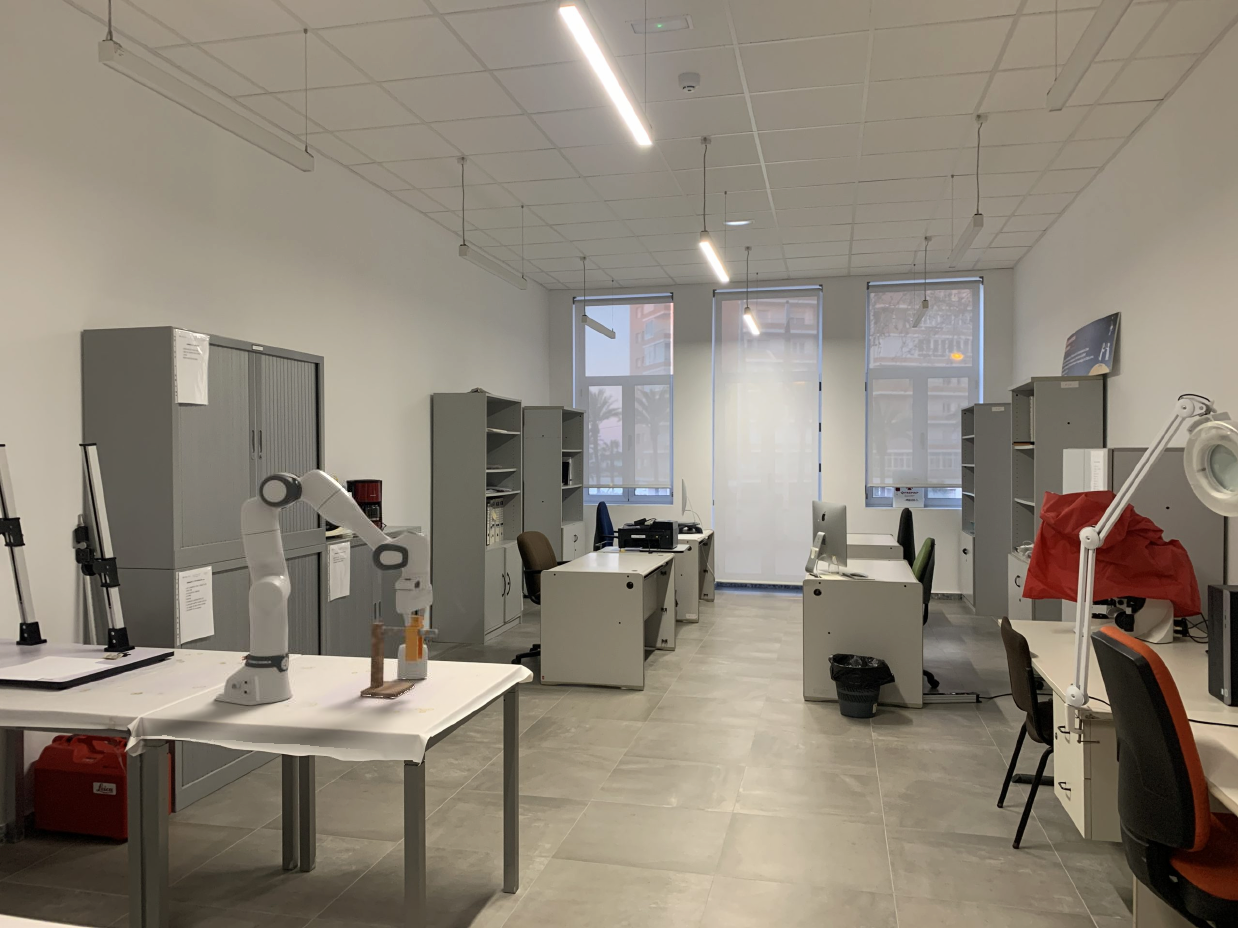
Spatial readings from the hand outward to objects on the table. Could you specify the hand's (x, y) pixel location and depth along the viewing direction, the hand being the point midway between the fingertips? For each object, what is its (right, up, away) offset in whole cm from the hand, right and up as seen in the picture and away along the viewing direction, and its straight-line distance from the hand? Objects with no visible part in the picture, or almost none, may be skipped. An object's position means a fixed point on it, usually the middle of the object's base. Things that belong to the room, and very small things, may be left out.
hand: (414, 623), depth 261 cm
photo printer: (-6, -24, +19) cm, 31 cm away
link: (0, -12, 0) cm, 12 cm away
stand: (-4, -23, 0) cm, 23 cm away
